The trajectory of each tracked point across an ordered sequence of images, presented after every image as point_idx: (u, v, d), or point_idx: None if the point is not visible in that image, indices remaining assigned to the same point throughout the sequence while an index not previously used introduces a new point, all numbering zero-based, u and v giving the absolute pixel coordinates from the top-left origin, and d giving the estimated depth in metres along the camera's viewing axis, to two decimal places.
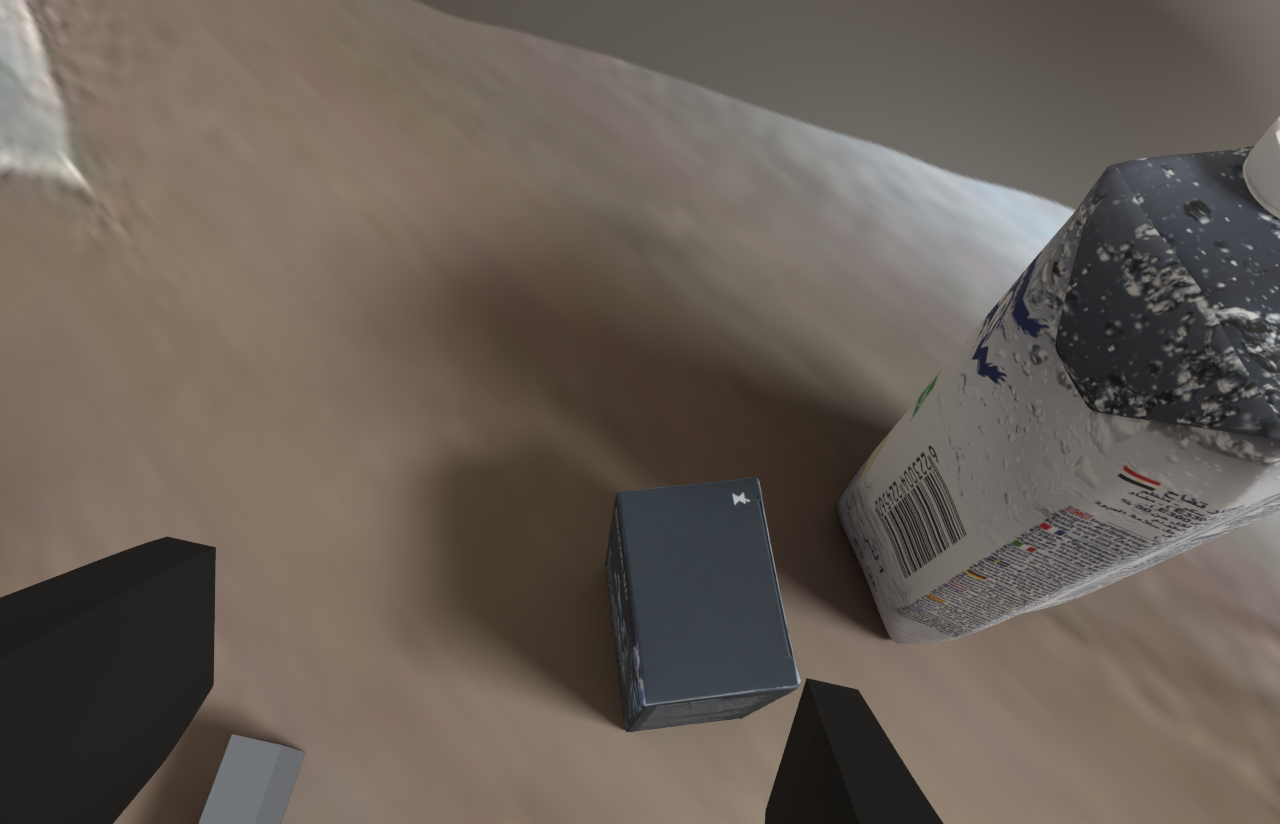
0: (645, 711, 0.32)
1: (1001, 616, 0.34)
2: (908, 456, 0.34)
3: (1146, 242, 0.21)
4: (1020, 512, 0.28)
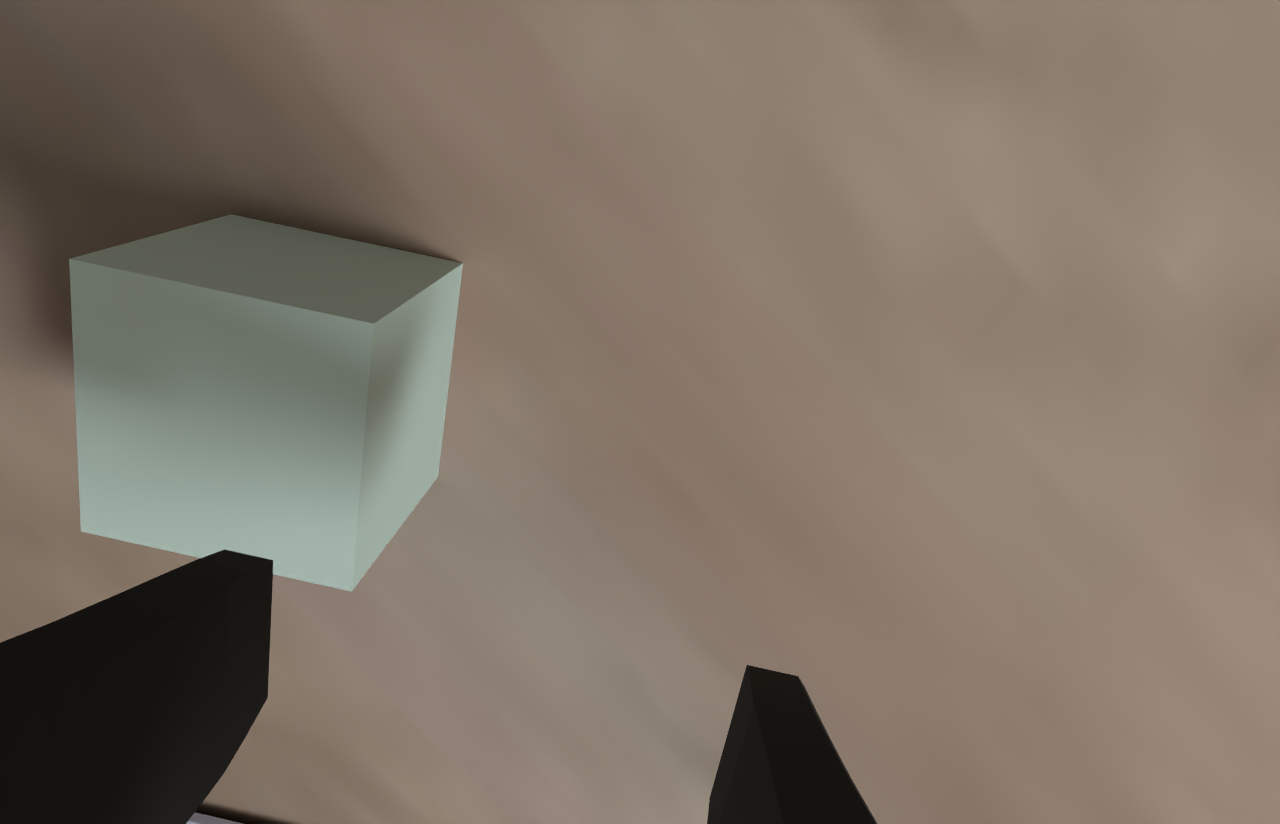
0: None
1: None
2: None
3: None
4: None
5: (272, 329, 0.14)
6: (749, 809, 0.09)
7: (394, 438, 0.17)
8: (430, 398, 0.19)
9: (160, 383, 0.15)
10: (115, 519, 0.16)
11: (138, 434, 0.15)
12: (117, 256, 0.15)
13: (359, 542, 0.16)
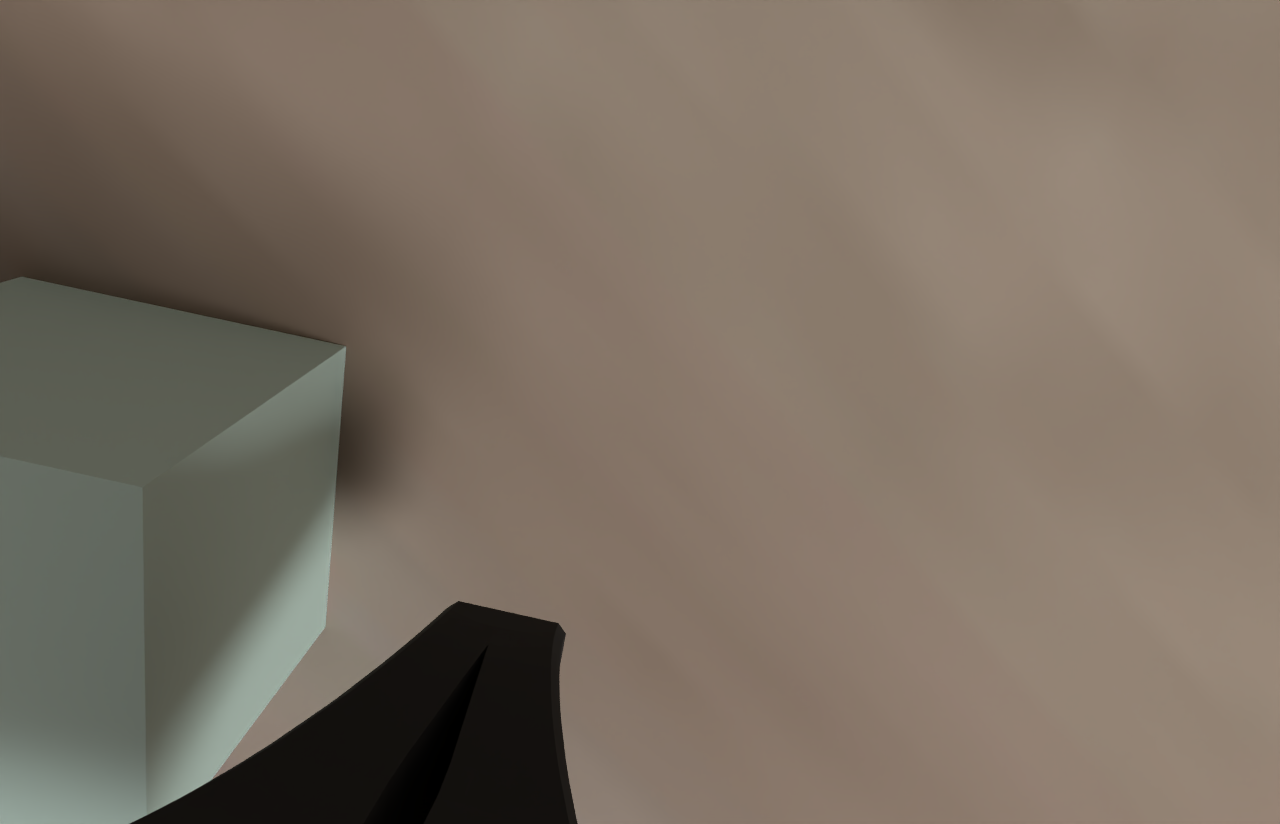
0: None
1: None
2: None
3: None
4: None
5: None
6: None
7: (220, 623, 0.11)
8: (297, 539, 0.13)
9: None
10: None
11: None
12: None
13: (157, 793, 0.10)
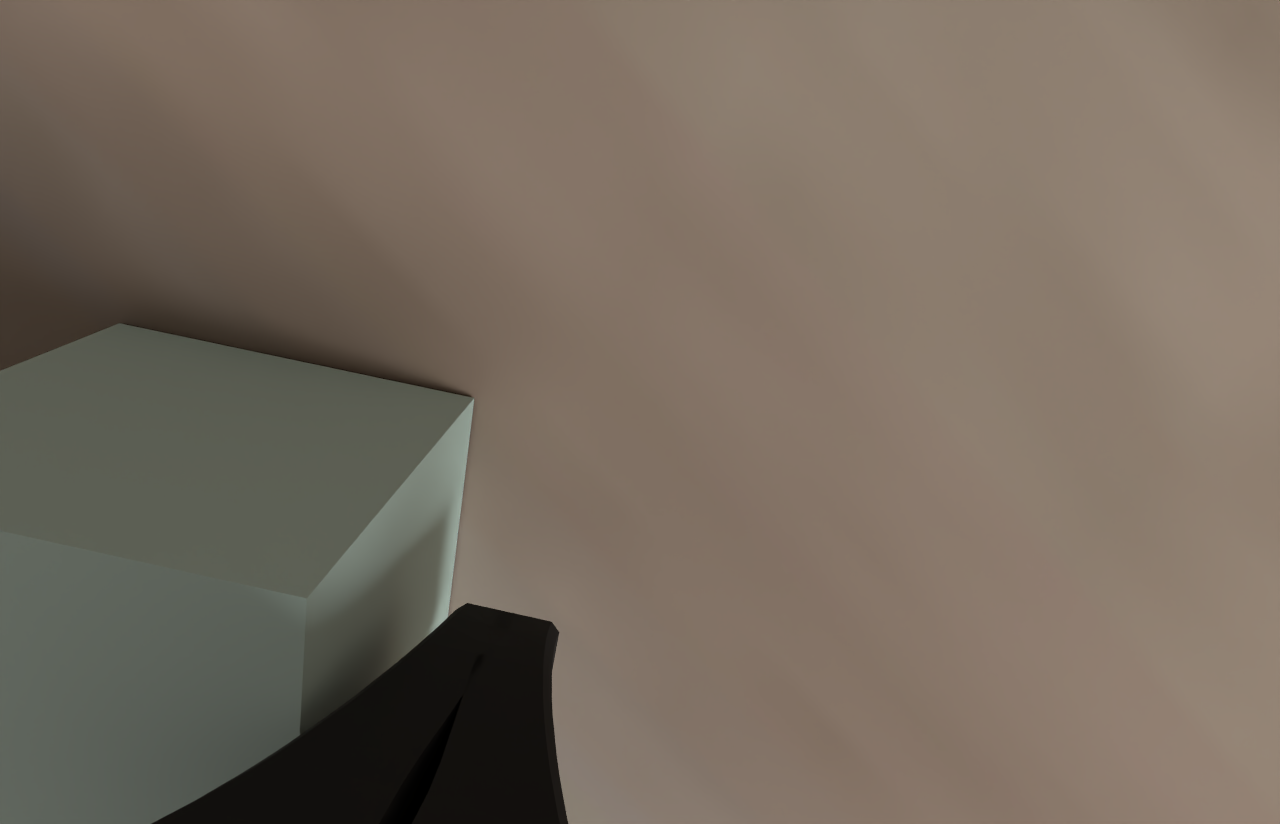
0: None
1: None
2: None
3: None
4: None
5: (121, 602, 0.08)
6: None
7: None
8: (422, 615, 0.12)
9: None
10: None
11: None
12: None
13: None
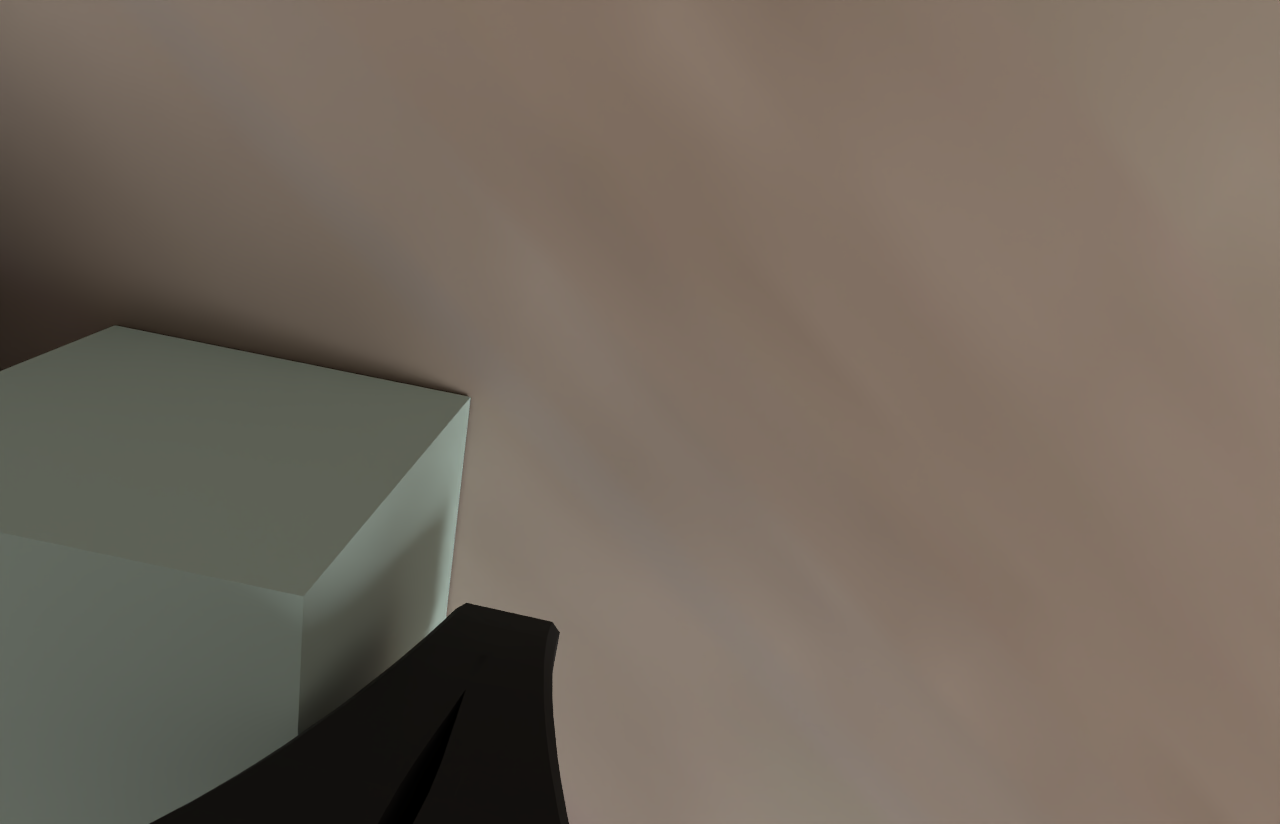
0: None
1: None
2: None
3: None
4: None
5: (117, 602, 0.08)
6: None
7: None
8: (421, 614, 0.12)
9: None
10: None
11: None
12: None
13: None
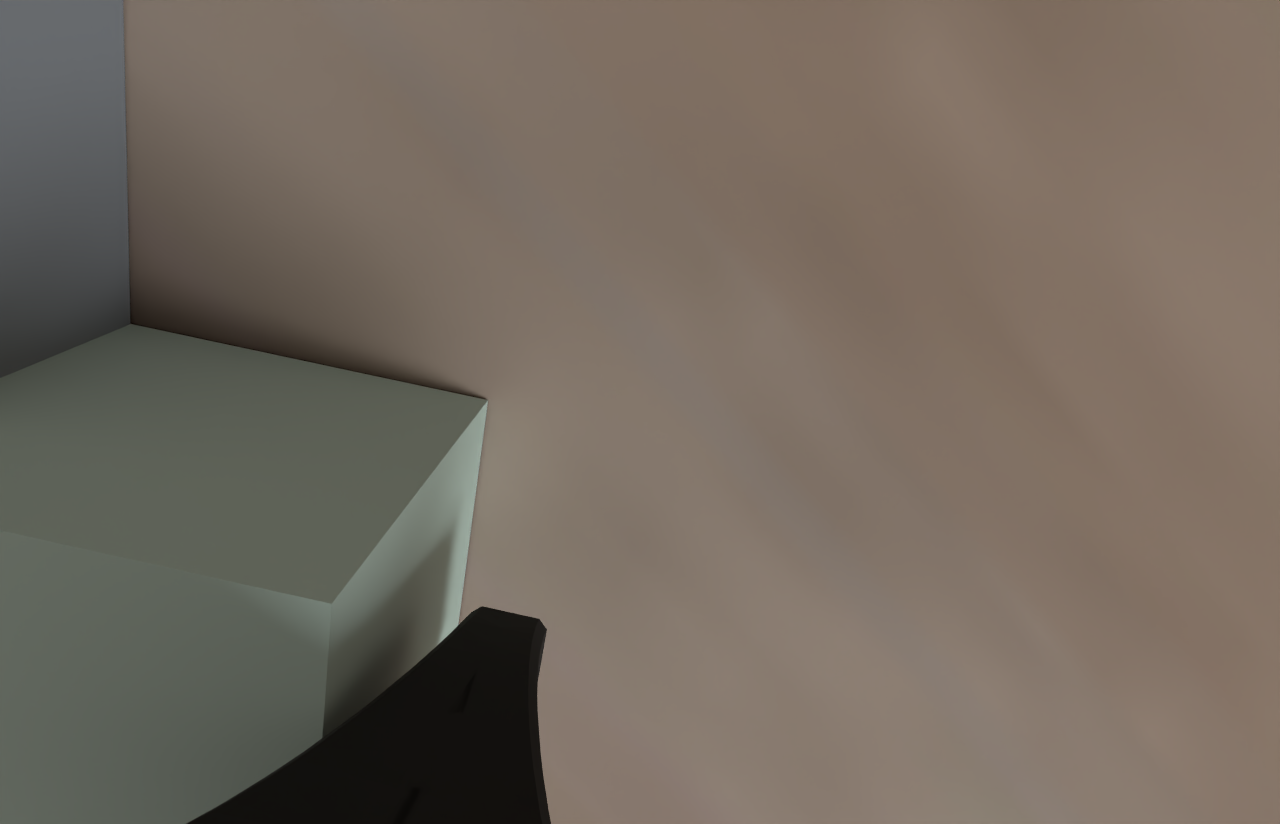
0: None
1: None
2: None
3: None
4: None
5: (143, 606, 0.08)
6: None
7: None
8: (436, 617, 0.12)
9: None
10: None
11: None
12: None
13: None
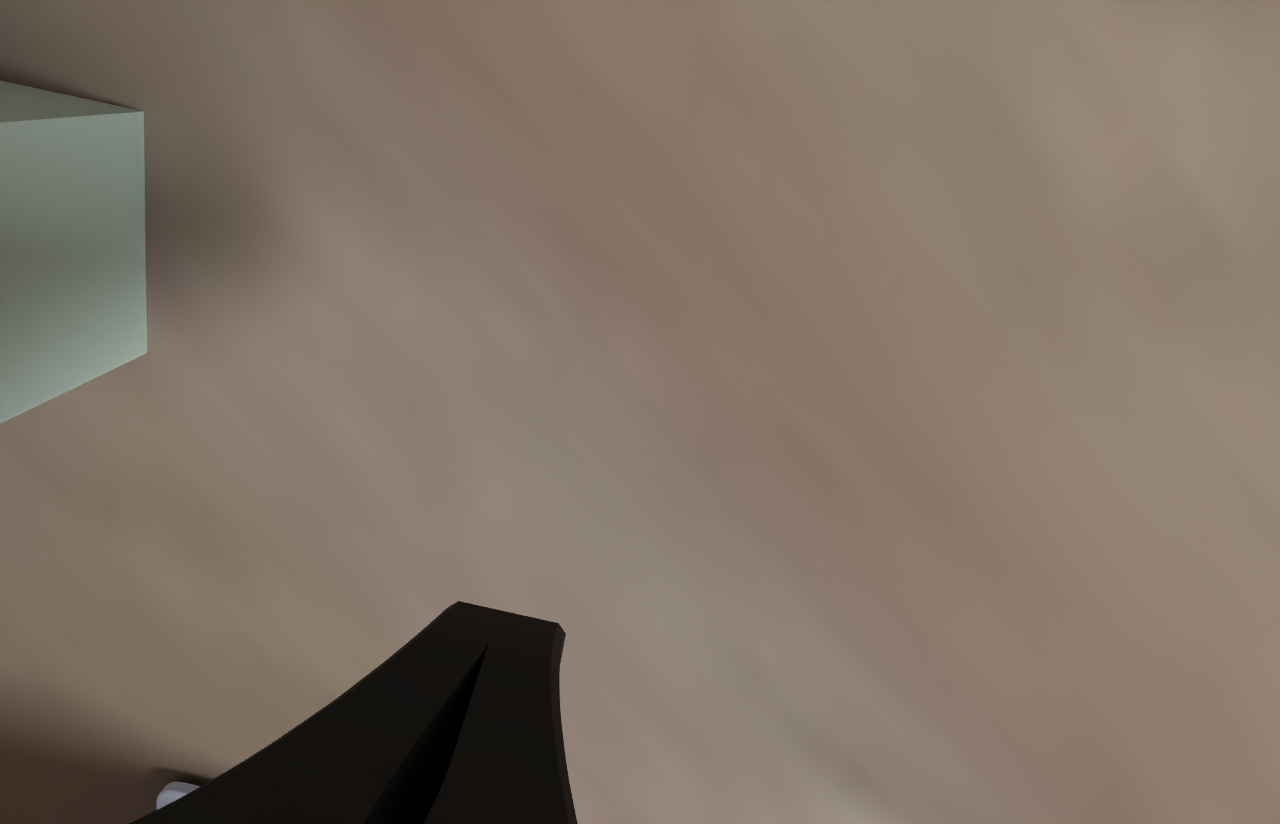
0: None
1: None
2: None
3: None
4: None
5: None
6: None
7: (21, 281, 0.15)
8: (103, 255, 0.17)
9: None
10: None
11: None
12: None
13: None
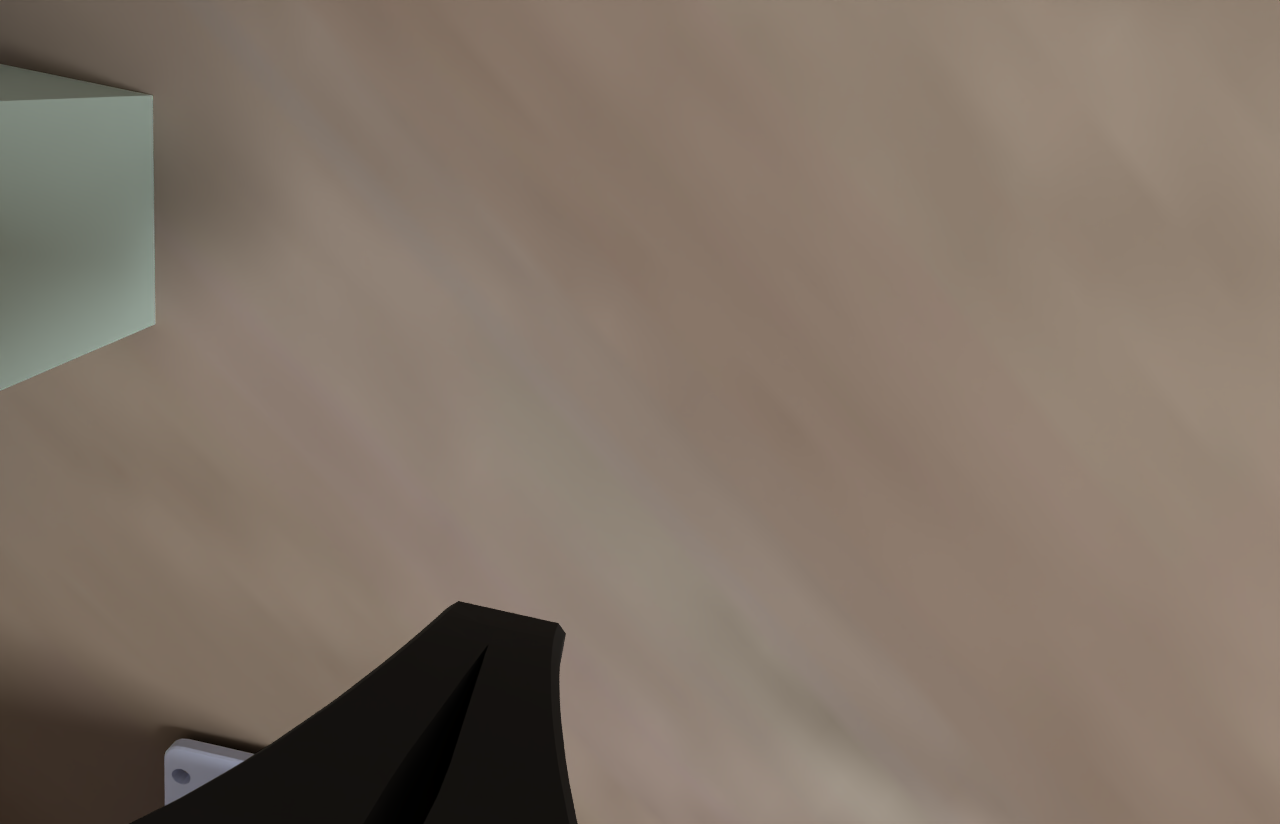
0: None
1: None
2: None
3: None
4: None
5: None
6: None
7: (41, 249, 0.17)
8: (115, 228, 0.18)
9: None
10: None
11: None
12: None
13: None
